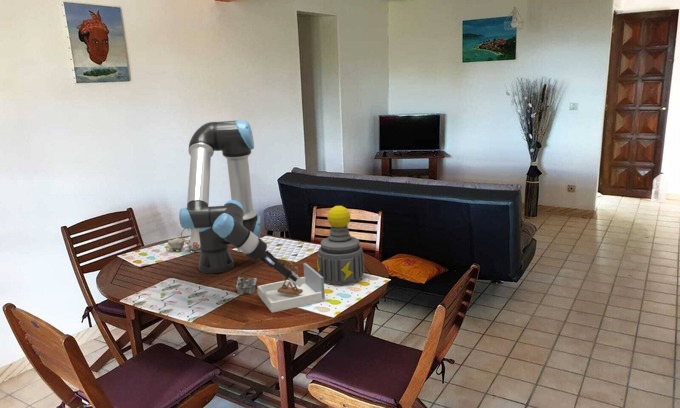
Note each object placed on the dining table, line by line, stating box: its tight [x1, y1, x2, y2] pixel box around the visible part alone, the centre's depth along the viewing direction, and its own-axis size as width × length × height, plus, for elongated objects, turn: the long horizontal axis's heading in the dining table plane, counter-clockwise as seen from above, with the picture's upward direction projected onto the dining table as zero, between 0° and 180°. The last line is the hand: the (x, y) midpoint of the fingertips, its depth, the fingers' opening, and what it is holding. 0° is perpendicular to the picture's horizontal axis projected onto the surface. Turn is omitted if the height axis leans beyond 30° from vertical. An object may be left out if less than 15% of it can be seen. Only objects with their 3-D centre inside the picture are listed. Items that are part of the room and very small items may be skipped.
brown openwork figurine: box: [277, 260, 303, 296], centre depth 183 cm, size 9×4×12 cm, turn 63°
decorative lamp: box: [316, 205, 365, 286], centre depth 200 cm, size 19×19×30 cm
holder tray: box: [256, 262, 326, 313], centre depth 184 cm, size 18×20×9 cm
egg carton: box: [235, 276, 258, 295], centre depth 195 cm, size 11×8×4 cm
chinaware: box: [165, 228, 201, 253], centre depth 248 cm, size 28×17×17 cm, turn 129°
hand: (298, 281), depth 185 cm, fingers closed on brown openwork figurine, 6 cm apart
